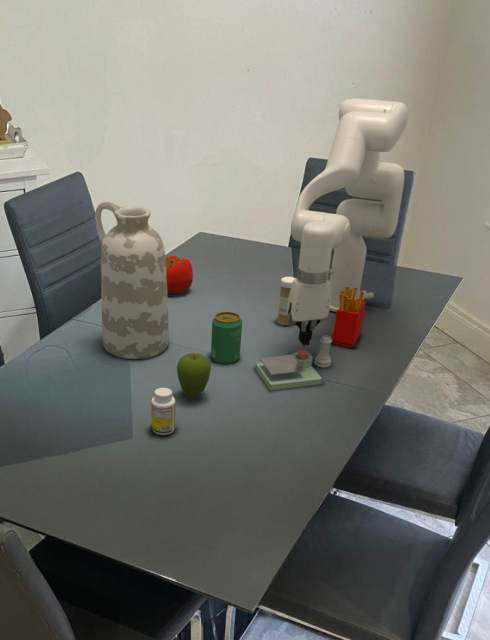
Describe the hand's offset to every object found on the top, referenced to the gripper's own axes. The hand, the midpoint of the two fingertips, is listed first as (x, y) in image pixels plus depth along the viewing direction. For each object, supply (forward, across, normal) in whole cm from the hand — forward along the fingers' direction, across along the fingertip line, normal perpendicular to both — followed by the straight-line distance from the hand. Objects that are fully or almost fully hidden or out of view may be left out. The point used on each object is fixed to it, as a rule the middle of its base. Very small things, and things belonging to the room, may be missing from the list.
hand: (304, 343), depth 194 cm
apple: (+7, +32, +8) cm, 34 cm away
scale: (+7, +5, +4) cm, 10 cm away
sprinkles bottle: (+8, -6, -28) cm, 30 cm away
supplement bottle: (+7, +43, +22) cm, 49 cm away
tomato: (+8, +21, -60) cm, 64 cm away
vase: (+7, +41, -24) cm, 48 cm away
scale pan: (+4, +7, +4) cm, 9 cm away
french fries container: (+8, -19, -13) cm, 24 cm away
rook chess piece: (+8, -6, 0) cm, 10 cm away
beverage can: (+7, +18, -10) cm, 22 cm away
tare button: (+4, 0, 0) cm, 4 cm away
